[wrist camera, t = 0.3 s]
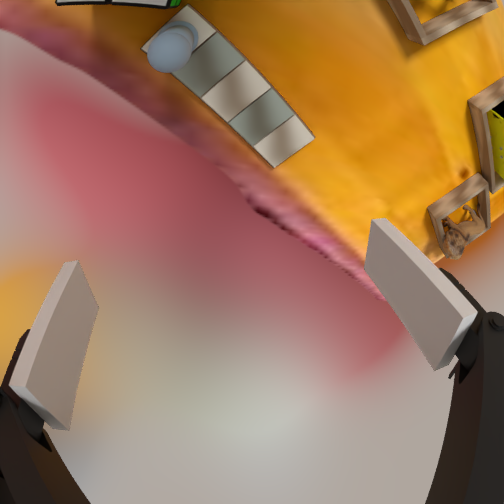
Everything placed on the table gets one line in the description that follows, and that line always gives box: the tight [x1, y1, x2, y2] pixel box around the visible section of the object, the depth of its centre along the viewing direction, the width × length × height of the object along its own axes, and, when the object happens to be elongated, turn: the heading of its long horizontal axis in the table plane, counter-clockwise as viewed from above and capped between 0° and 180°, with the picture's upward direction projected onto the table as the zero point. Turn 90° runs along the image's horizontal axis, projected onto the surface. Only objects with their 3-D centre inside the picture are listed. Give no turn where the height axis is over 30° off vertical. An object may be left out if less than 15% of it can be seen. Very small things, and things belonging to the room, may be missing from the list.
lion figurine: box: [442, 203, 485, 259], centre depth 51 cm, size 15×5×9 cm, turn 121°
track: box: [140, 4, 315, 168], centre depth 31 cm, size 7×23×2 cm, turn 40°
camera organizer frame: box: [468, 77, 504, 194], centre depth 37 cm, size 12×22×4 cm, turn 40°
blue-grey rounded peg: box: [147, 21, 198, 73], centre depth 21 cm, size 4×4×11 cm
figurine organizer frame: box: [427, 172, 491, 258], centre depth 52 cm, size 14×17×4 cm
